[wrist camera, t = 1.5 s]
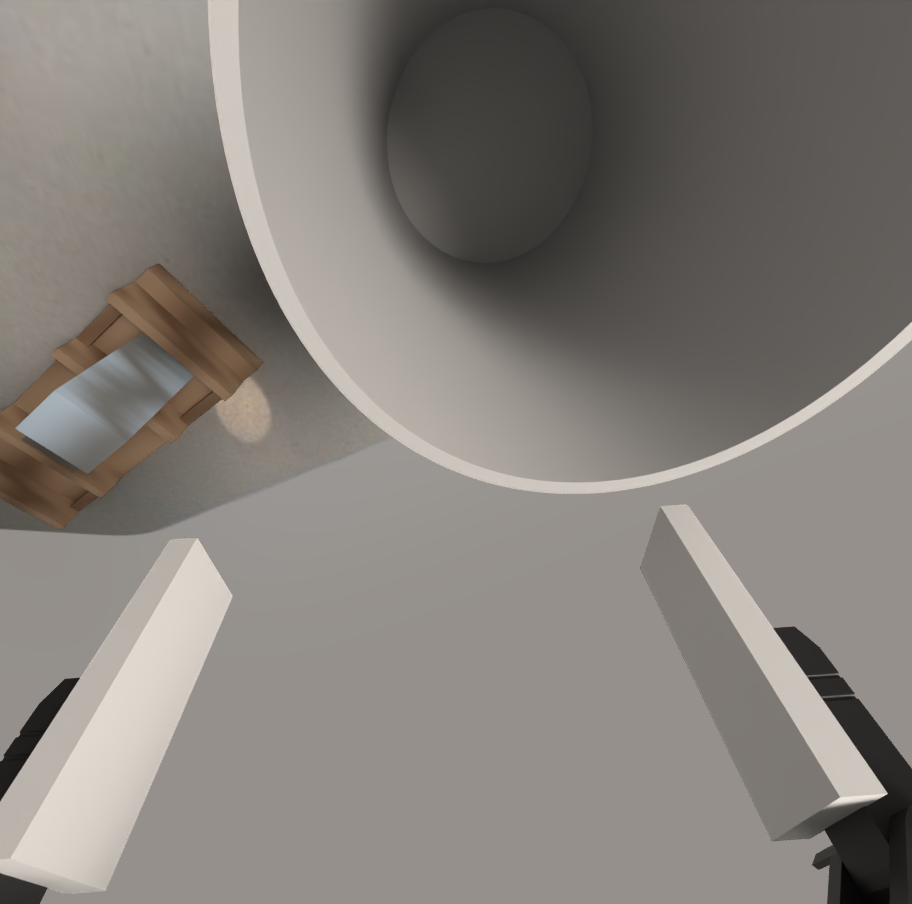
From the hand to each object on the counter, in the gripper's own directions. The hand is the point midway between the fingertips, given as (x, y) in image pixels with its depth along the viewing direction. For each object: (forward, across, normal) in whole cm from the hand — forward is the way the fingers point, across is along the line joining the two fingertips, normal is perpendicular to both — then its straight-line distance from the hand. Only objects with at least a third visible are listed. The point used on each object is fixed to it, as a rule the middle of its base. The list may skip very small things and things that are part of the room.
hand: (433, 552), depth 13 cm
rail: (+24, -27, -7) cm, 37 cm away
